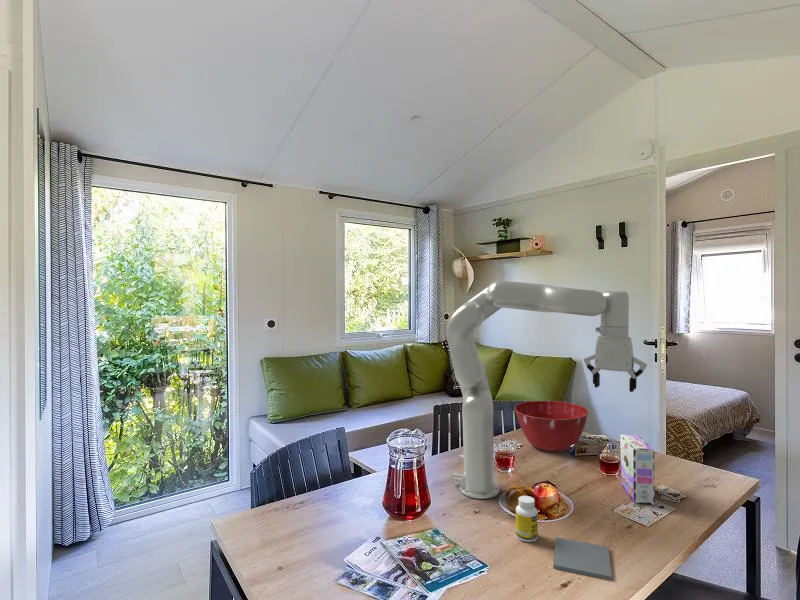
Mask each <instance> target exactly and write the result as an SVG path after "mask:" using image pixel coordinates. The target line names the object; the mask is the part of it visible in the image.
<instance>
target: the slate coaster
mask: <svg viewBox="0 0 800 600" xmlns="http://www.w3.org/2000/svg"><path fill="white" fill-rule="evenodd" d="M609 549H610V548H609V546H608V545H607V546H606V545H602V544H596V543H590V542H585V541H580V540H575V539H568V538H563V537H558V536H556V537H555V543H554V551H553V552H554V553H553V563H552V566H553V569H556V570H561V571H565V572H571V573H575V574H579V575H584V576H590V577H594V578H598V579H603V580H609V581H612V580H613V574H612V566H611V558H610V550H609Z"/></svg>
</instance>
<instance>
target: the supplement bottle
mask: <svg viewBox="0 0 800 600" xmlns="http://www.w3.org/2000/svg"><path fill="white" fill-rule="evenodd" d="M535 503H536V501H535V498H534V497H532V496H530V495H529V496H528V495H521V496H519V497H518V505H517V506H516V507H515V536H516V538H517V539H518V540H519V541H521V542H527V543H533V542H536V541H537V539H538V529H539V527H538V524H539V523H538V520H539V519H538V509H537V507H535V505H536V504H535Z"/></svg>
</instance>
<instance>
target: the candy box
mask: <svg viewBox="0 0 800 600" xmlns="http://www.w3.org/2000/svg"><path fill="white" fill-rule="evenodd" d="M619 446H620V447H619V448H620V449H619V450H620V451H619V452H620V485H621V486H622V488H623V490H625V492H626V494H627V495H628V496H629V498H630V499H631V500H632V502H633V503H634V504H642V505H643V504H644V505H653V506H654V505H655V503H656V501H655V498H656V497H655V449H654V448H653V447H651V445H649V444H648V443H647V442H646V441H645V440H644V439H642V437H641V436H640V435H636V434H620V435H619Z"/></svg>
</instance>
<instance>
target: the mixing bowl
mask: <svg viewBox="0 0 800 600" xmlns="http://www.w3.org/2000/svg"><path fill="white" fill-rule="evenodd" d="M514 411H515V413H516V416H517V417H516V418H517V420H518V423H519V426H520V428H521V430H522V432H523V434H524V436H525V438H526V440H527V441H528V442H529V443H530V444H531V445H532V446H533V447H534V448H537V449H538V450H541V451H545V452H548V453H549V452H550V453H562V452H567V451H569V450H570V449H571V448H570V446H571V445H573V444H575V445H576V444H578V442H579V439H580V437H581V436H582V435H583V431H584V430H585V429H584V428H585V426H586V422H587V418H588V415H589V410H588V409H587V408H586V407H585V406H582V405H579V404H576V403H571V402H566V401H558V400H557V401H556V400H555V401H554V400H532V401H531V400H530V401H525V402H521V403H518V404H516V405H515V406H514ZM569 448H570V449H569ZM566 450H567V451H566Z"/></svg>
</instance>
